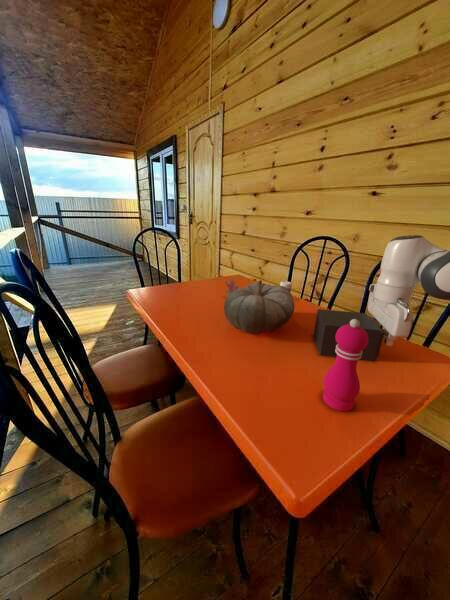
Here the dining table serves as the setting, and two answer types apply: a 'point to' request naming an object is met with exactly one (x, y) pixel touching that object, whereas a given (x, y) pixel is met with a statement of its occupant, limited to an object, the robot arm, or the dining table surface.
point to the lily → (231, 286)
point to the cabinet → (334, 320)
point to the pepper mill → (345, 367)
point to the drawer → (380, 340)
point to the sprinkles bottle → (286, 285)
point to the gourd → (259, 308)
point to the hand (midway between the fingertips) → (381, 337)
